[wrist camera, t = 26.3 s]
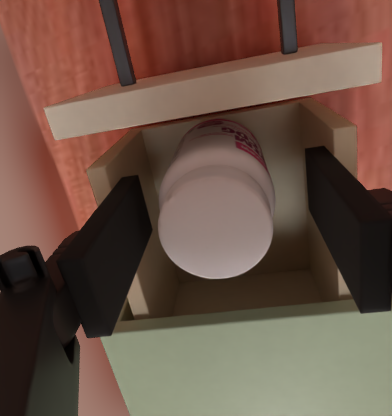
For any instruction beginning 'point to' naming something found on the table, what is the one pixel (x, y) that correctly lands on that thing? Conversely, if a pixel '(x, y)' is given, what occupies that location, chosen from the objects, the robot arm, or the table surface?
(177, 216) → the pill bottle
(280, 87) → the drawer
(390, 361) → the cabinet
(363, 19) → the table surface
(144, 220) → the robot arm
